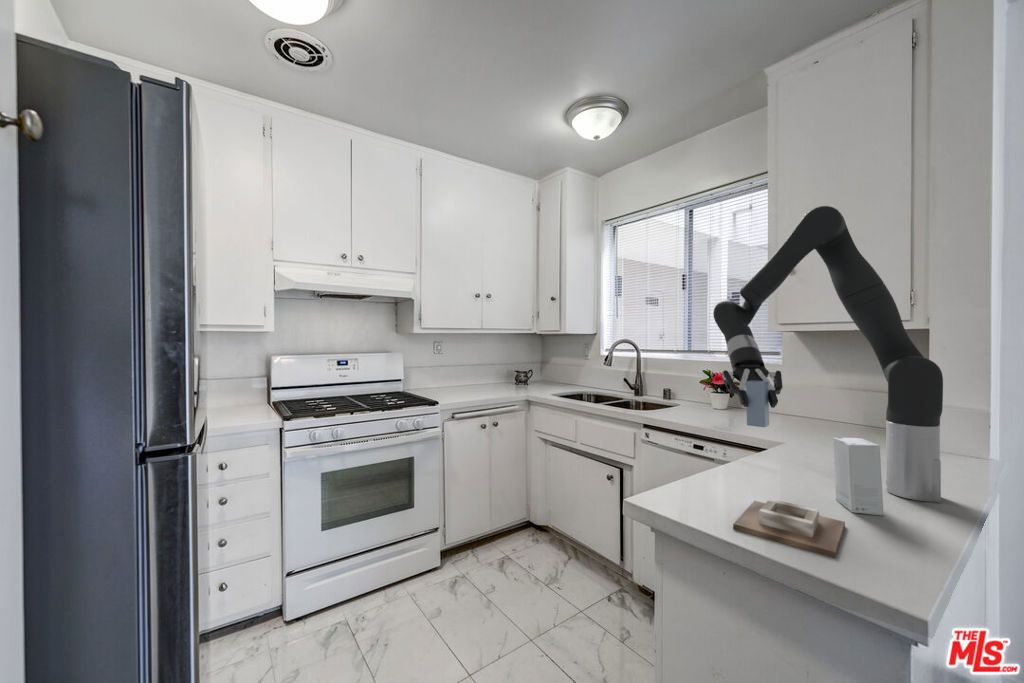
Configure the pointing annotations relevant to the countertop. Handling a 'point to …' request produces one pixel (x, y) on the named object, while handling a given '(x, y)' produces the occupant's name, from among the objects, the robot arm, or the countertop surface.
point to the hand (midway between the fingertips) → (760, 405)
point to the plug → (757, 403)
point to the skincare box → (858, 475)
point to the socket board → (792, 526)
